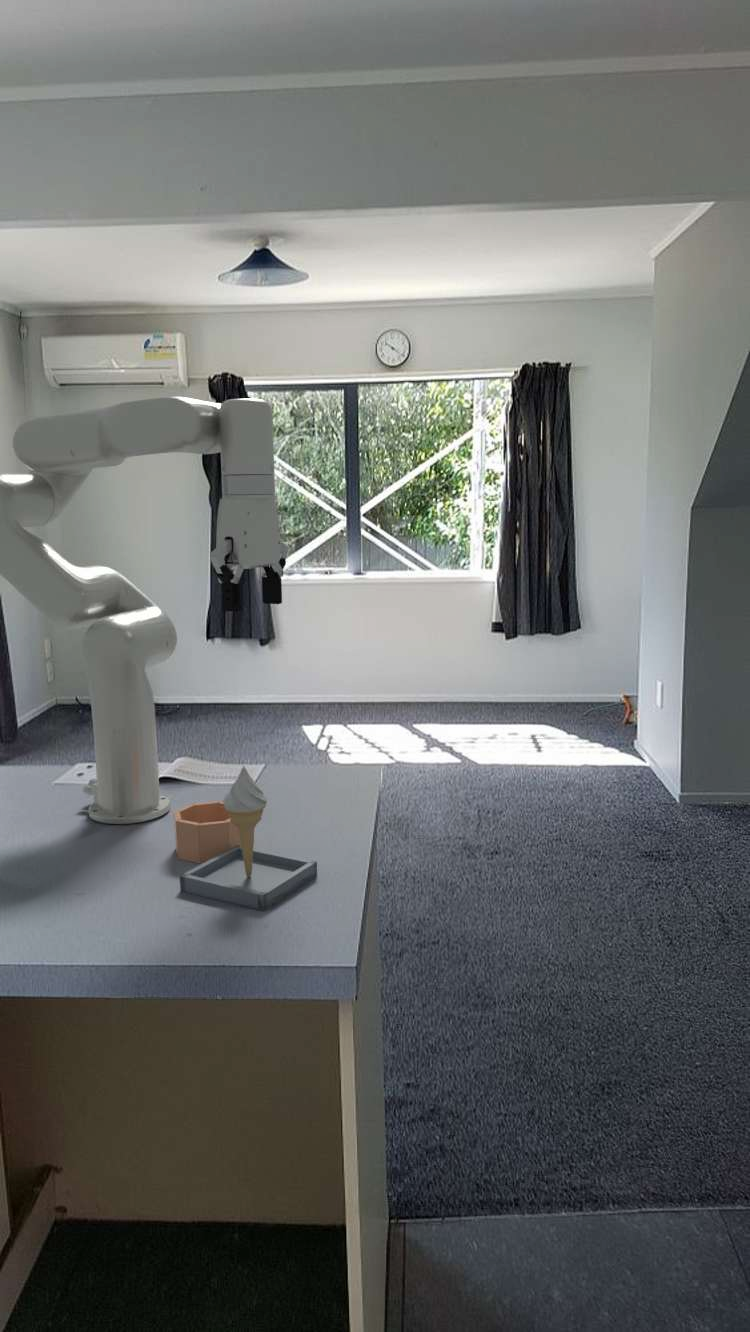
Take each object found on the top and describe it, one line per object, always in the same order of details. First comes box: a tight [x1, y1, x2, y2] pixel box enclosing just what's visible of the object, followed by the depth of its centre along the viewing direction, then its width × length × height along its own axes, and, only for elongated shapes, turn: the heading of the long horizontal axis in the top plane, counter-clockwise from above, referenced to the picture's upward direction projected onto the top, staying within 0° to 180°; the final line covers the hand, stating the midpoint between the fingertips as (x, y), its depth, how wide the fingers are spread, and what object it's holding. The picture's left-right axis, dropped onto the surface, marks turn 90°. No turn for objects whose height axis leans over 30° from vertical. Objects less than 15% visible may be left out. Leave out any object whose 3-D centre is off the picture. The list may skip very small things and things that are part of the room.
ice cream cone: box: [222, 765, 268, 878], centre depth 123 cm, size 6×6×15 cm
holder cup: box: [173, 800, 241, 865], centre depth 135 cm, size 10×10×6 cm
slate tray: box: [179, 845, 318, 912], centre depth 124 cm, size 13×12×2 cm
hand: (253, 607), depth 140 cm, fingers open, 9 cm apart
